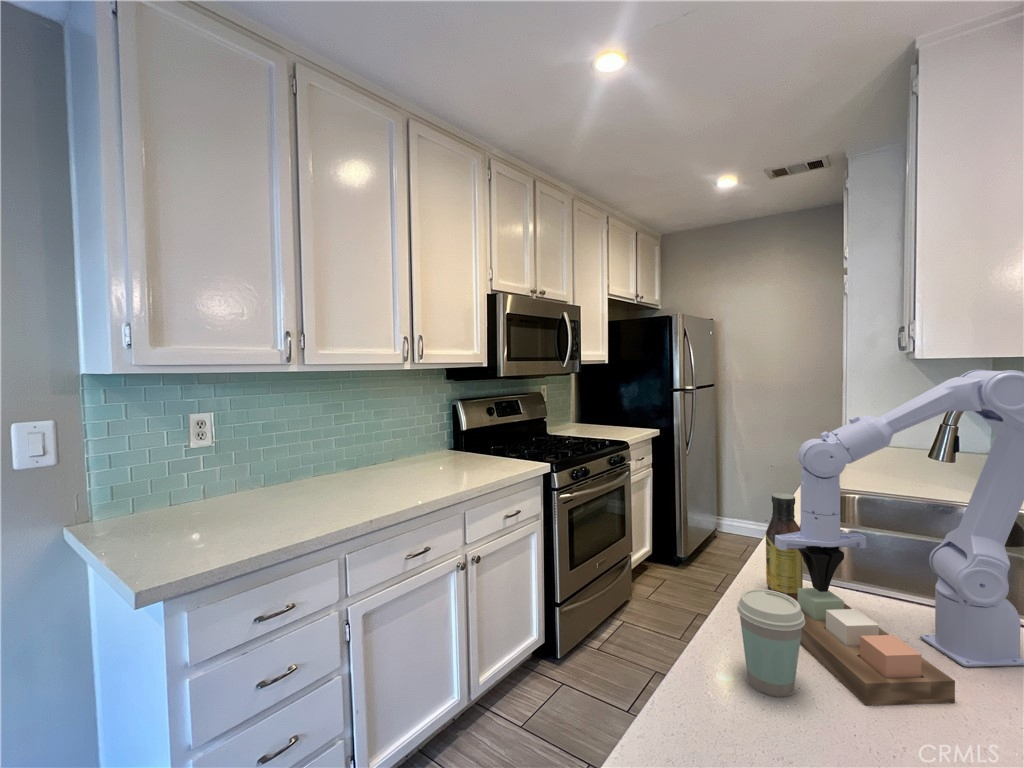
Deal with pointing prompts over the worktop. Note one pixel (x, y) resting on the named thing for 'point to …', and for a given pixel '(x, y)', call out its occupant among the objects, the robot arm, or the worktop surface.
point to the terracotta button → (890, 656)
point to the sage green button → (818, 602)
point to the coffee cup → (771, 639)
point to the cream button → (849, 626)
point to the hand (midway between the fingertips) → (820, 589)
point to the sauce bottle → (783, 563)
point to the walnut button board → (873, 671)
